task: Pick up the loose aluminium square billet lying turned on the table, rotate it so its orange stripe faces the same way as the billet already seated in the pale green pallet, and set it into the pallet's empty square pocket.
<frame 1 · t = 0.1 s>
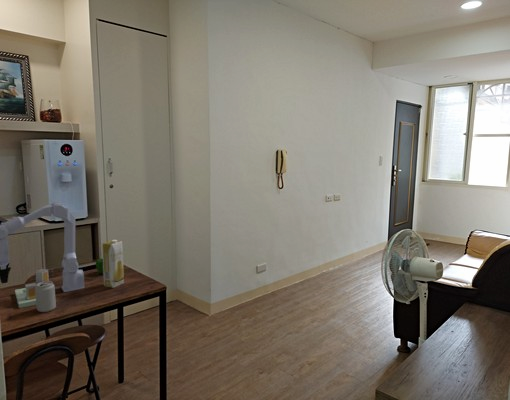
hand: (4, 280, 172), 10 cm above the table, tool pointing down, fingers open, 7 cm apart
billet: (42, 285, 194), on the table
bell pepper: (104, 273, 214), on the table
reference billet: (32, 301, 174), resting in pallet
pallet: (30, 297, 178), on the table
can: (46, 309, 166), on the table
juice carton: (114, 285, 195), on the table
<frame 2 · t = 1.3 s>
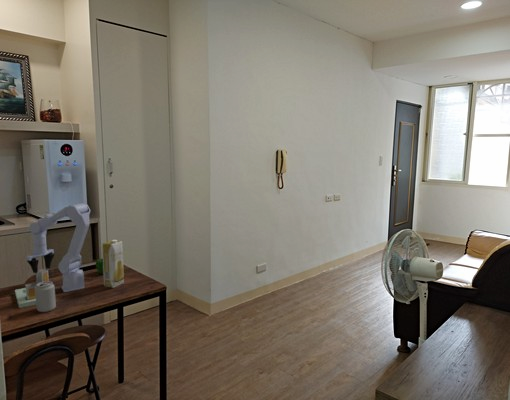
hand: (41, 270, 192), 8 cm above the table, tool pointing down, fingers open, 7 cm apart
nothing on the table moved.
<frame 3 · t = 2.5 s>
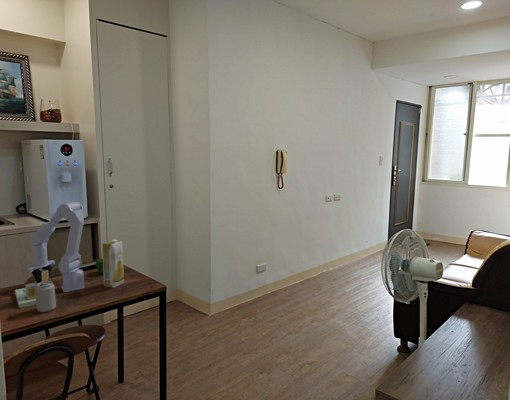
hand: (42, 281, 193), 2 cm above the table, tool pointing down, fingers closed on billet, 4 cm apart
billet: (42, 285, 194), on the table, touching gripper
everything else where it was.
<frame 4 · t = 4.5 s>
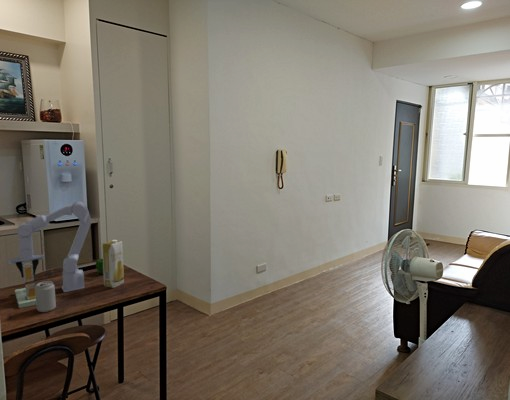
hand: (28, 276, 180), 9 cm above the table, tool pointing down, fingers closed on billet, 4 cm apart
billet: (28, 280, 181), point 7 cm above the table, touching gripper
everything else where it was.
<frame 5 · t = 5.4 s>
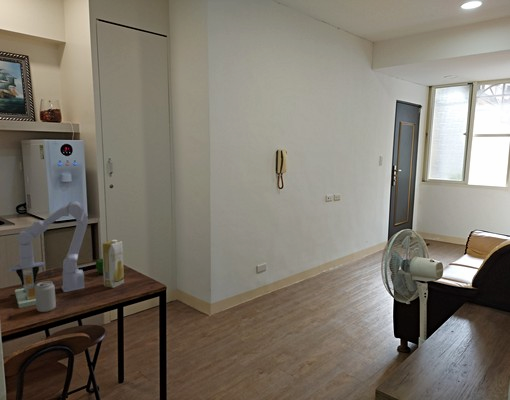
hand: (28, 283, 181), 6 cm above the table, tool pointing down, fingers closed on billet, 4 cm apart
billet: (28, 287, 181), point 3 cm above the table, touching gripper
everything else where it was.
when the fingers open (3 cm above the table, at t = 6.4 s): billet stays where it is, resting in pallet.
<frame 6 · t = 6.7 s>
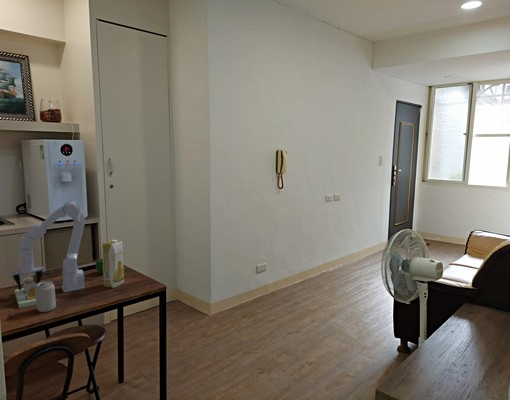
hand: (29, 288, 181), 3 cm above the table, tool pointing down, fingers open, 7 cm apart
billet: (29, 294, 182), resting in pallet
everything else where it was.
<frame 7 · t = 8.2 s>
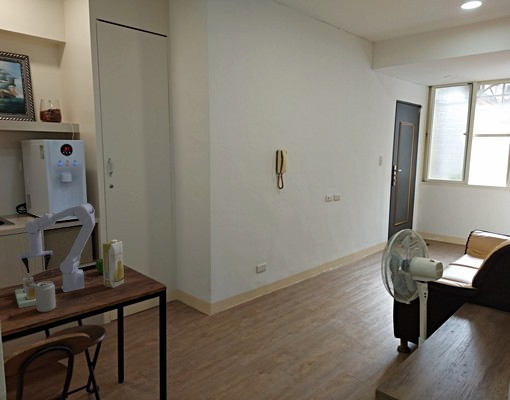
hand: (37, 271, 187), 9 cm above the table, tool pointing down, fingers open, 7 cm apart
nothing on the table moved.
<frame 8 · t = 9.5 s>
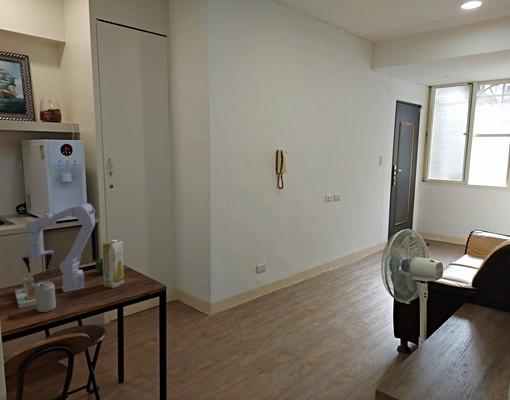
hand: (38, 270, 188), 9 cm above the table, tool pointing down, fingers open, 7 cm apart
nothing on the table moved.
at the end: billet 0.3 cm from the target spot on the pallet, point 0.0 cm above the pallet's base; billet tilted 0°; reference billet moved 0.0 cm from its start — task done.
